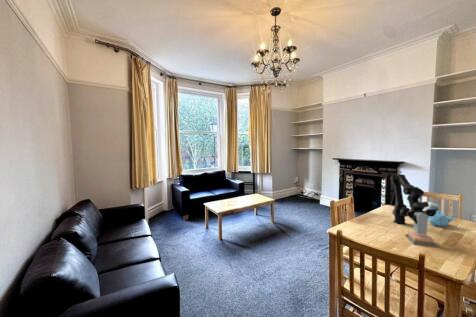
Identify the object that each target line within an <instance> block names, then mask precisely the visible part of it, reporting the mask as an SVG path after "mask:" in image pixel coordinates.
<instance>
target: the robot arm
mask: <svg viewBox="0 0 476 317" xmlns="http://www.w3.org/2000/svg"><path fill="white" fill-rule="evenodd" d="M389 179H390V183H391V185H393V187H394V188H393V189H394V195H395V201H396V202H395V205H394V208H393V210H392V215H393V216H394V220H392V222H393V223H395V224H398V225H406V224H407V222H406V218H407V217H408V218H410V219H411V220H412V221H413V223H414V222H415V223H416V224H417V220H416V217H415V212H423V213H425V214H426V215H428V217H429V216H430V217H433V216H434V215H435V214H436V213H437V212H436V210H434V209H427V211H423V209H424V208H426V207H428V206H429V204H428V202H429V201H422V202H420V199H421V198H422V197H423V195H424V194H425V192H424V190H422V189H421V188H419V186H415V185H412V184H411V183H410V182H409V181H408V179H407V178H406V175H405V174H400V173H399V174H396V175H391V176H390V177H389ZM403 195H405V196H406V195H408V196H407V198H406V200H407V201H408V204H409V206H407V205H406V204H405V203H404V196H403Z"/></svg>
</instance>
